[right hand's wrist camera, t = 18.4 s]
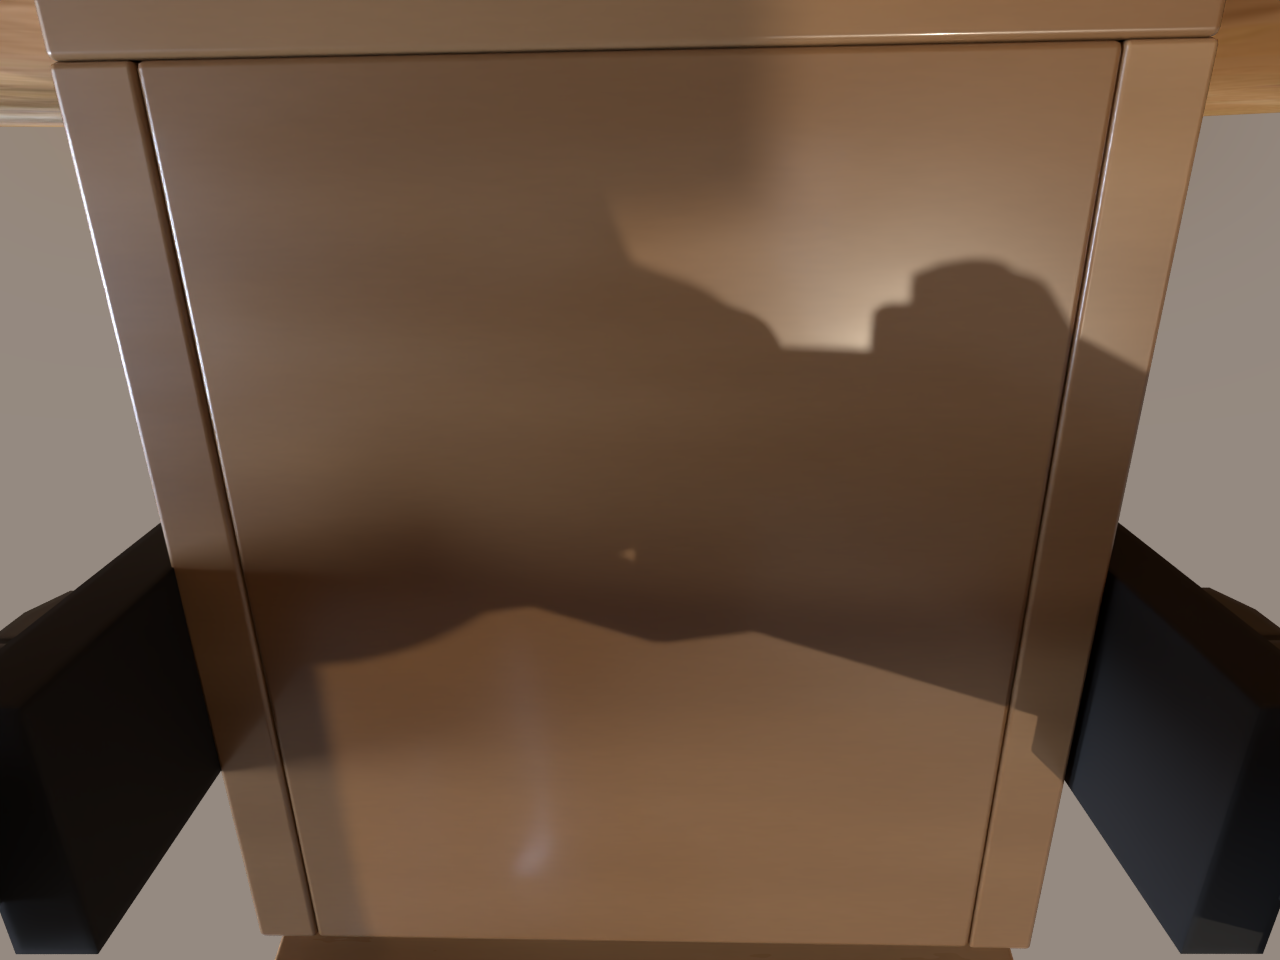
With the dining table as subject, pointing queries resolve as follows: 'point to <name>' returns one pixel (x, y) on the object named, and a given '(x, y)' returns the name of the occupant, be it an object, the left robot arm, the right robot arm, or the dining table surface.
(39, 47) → the dining table surface
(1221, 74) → the dining table surface
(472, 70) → the chest
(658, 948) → the lid
